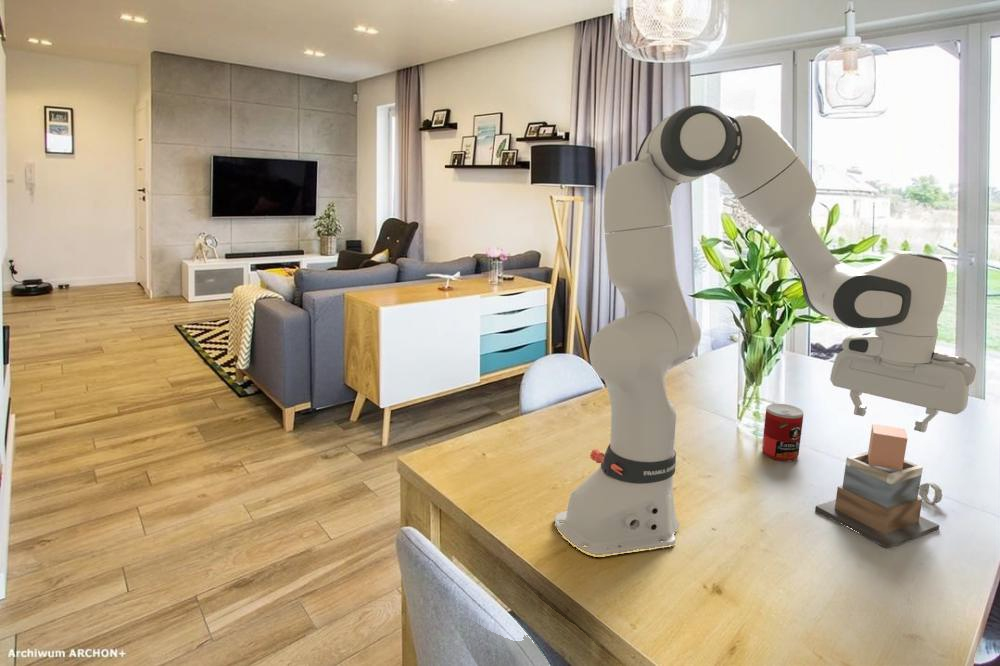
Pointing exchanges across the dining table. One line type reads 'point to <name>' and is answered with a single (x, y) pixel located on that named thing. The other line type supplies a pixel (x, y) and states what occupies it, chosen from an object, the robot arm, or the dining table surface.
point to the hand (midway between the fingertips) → (888, 422)
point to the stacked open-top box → (880, 502)
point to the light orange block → (887, 447)
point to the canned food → (782, 432)
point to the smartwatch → (925, 489)
